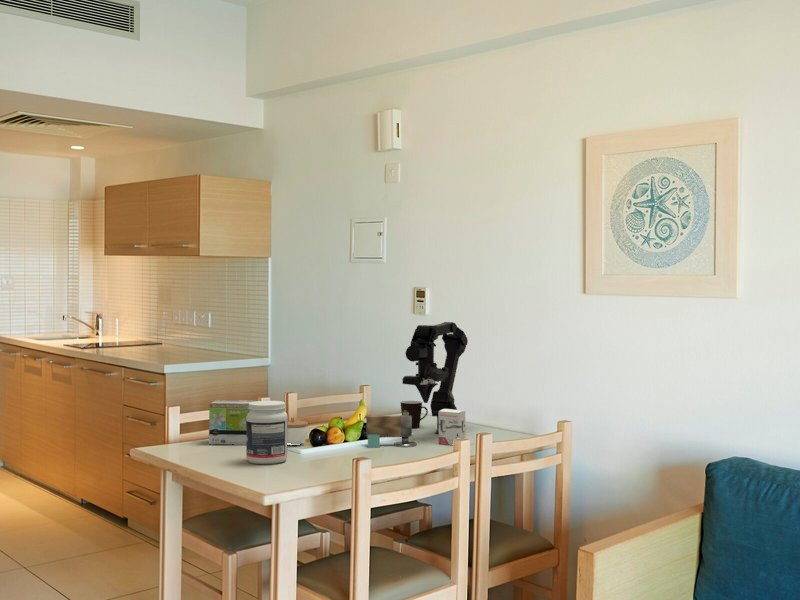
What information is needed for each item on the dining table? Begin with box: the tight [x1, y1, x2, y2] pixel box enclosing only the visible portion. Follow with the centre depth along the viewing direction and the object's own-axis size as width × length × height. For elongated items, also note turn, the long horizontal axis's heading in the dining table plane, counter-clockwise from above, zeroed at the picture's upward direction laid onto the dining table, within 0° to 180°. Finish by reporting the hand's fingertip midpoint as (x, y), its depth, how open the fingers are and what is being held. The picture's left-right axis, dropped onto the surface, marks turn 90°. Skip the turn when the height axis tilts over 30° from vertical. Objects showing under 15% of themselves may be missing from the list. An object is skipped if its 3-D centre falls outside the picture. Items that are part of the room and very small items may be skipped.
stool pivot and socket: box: [367, 433, 418, 449], centre depth 300 cm, size 11×17×4 cm, turn 84°
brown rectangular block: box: [365, 414, 413, 438], centre depth 300 cm, size 16×4×7 cm, turn 92°
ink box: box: [438, 409, 466, 446], centre depth 303 cm, size 9×5×12 cm, turn 62°
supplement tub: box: [245, 400, 289, 465], centre depth 271 cm, size 13×13×18 cm
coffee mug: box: [399, 400, 429, 430], centre depth 338 cm, size 12×9×10 cm
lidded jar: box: [287, 417, 309, 445], centre depth 301 cm, size 11×11×9 cm
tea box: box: [208, 399, 256, 446], centre depth 304 cm, size 15×10×15 cm, turn 92°
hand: (425, 402), depth 314 cm, fingers closed
